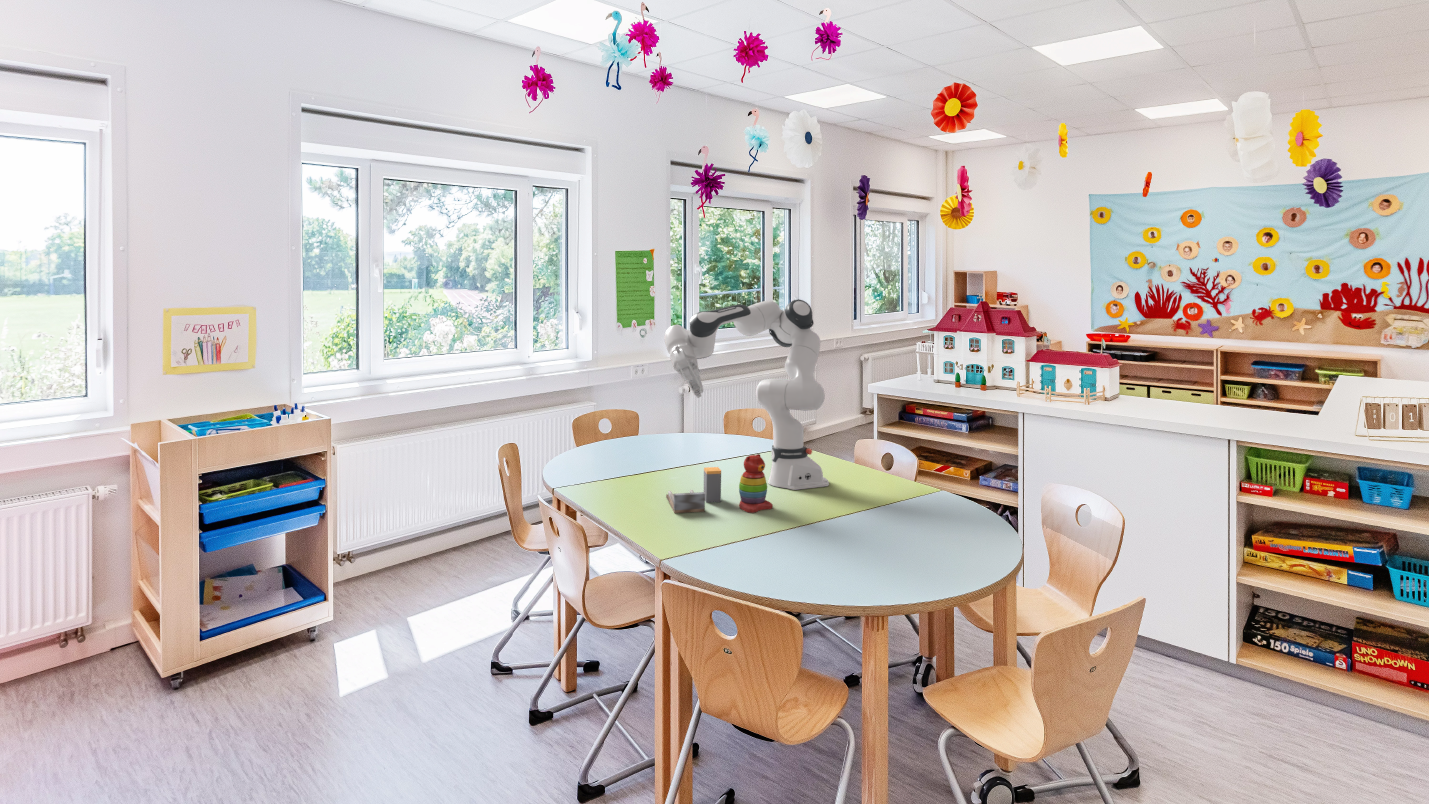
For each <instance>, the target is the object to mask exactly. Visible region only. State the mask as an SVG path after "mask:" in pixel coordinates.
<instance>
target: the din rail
mask: <svg viewBox="0 0 1429 804" xmlns="http://www.w3.org/2000/svg"><path fill="white" fill-rule="evenodd" d="M665 498H666V500H667V502H668V503H669V505H670V507H671V509H672V511H673V513H674V514H687V513H702V512H704V513H705V512H706V511H705V510H706V509H705V508H706V507H705V505H706V501H705V493H704V491H701V492H695V491H694V490H693V489H690V490H689V492H681V493H679V492H678V493H677V492H676V493H673V491H672V490H668V492H667V494H666V495H665Z"/></svg>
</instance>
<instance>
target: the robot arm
mask: <svg viewBox="0 0 1429 804" xmlns="http://www.w3.org/2000/svg"><path fill="white" fill-rule="evenodd" d="M730 323H733V325H734V327H735V328H736V330H737V331H738V332H739V333H740V334H741V335H743V336H747V337H752V336H757V335H758V334H760V333H762V332H764V331H767V330H768V332H769V336H771V337H772V340H774V341H775V343H776V344H777V345H779V346H781V347H783V348H790V349H789V351H788V355H787V358H786V360H785V362H784V371H785V373H786V374H787V376H788V377H789V378H790V379H788V378H787V379H786V378H777V377H775V378H773V377H772V378H767V379H766V378H765V379H761V380H760V381H759V383H758V384H757V386H756V388H755V398H756V401H757V402H758V403H759V405H761V407H762V408H764V410H765V411H766V412H767V414H768V415H769V417H770V420H771V422H772V423H771V424H772V430H773V431H772V433H773V434H772V435H773V436H772V437H773V438H772V439H773V440H772V442H773V443H772V445H771V462H772V463H771V469H770V473H769V478H768V480H767V483H768V484H769V485H770V486H773V487H777V488H783V489H788V490H791V491H792V490H793V491H795V490H806V489H813V488H823V487H829V485H830V483H829V482H830V481H829V480H828V479H827V478H826V477H824V474H823V469H822V467H821V466H820V464H819V463H817V462H816V461H815V460H813V459H812V458H811V457H810V456H809V455H812V454H813V450H812V449H811V448H808V447H806V446H805V445H804V437H805V436H804V431H805V428H804V426H803V423H802V422H801V421H799V420H798V419H796V418H795V417H794V416H793V415H792V413H791V411H790V410H793V411H800V412H801V411H802V412H804V411H805V412H806V411H807V412H808V411H816V410H820V408H821V407H822V406H823V404H824V402H825V396H826V393H825V390H824V388H823V386H822V385H821V384H820V382H818V381H817V380H816V379H815V376H814V375H815V369H816V364H817V362H818V358H819V357H820V356H819V355H820V351H821V338H820V336H819V334H817V333H816V332H815V331H814V330H812V329H811V328H812V327H813V325H814V319H813V309H812V307H811V305H810V304H809V303H808V302H807V301H805V300H803V299H794V300H792V301H790V302H789V303H788V304H787V305H786V306H785V309H781V307H780V306H779V304H778V303H777V302H776V301H774V300H763V301H760V302H756V303H753V304H751V305H749V306H747V305H745V304H734V305H730V306H724V307H721V308H718V309H713V310H704V311H698V312H696V313H695V314H693V315H692V316H691V317H690V319H689V329H686V328H684V327H683V326H682V325H680V324H674V325H672V326H671V325H670V326H669V327H668V328H667V329H666V330H665V332H664V342H665V347H666V350H667V353H668V354H669V358H670V361H671V364H672V366H673V367H672V368H673V369H674V371H675V372H677V373H678V374H679V375H680V376H681V378H682V379H683V380H684V382H685V381H686V383H687V385H688V387H689V388H690V390H691V392H692V394H693V395H694V396H695V397H696V399H699V398H701V397H702V394H703V392H704V386H703V382H702V379H701V371H700V368H699V364H698V360H701V359H706V358H709V357H710V356H712V355H713V353H714V349H715V345H716V337H717V336H716V335H717V332H718V329H719V328H720V327H722V325H726V324H730Z"/></svg>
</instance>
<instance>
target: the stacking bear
mask: <svg viewBox="0 0 1429 804" xmlns="http://www.w3.org/2000/svg"><path fill="white" fill-rule="evenodd" d="M743 467H744V470H745V471H744V472H743V473H742V474H741V476H740V481H739V485H738V490H739V491H738V492H739V495H740V496H739V497H740V502H739V505H738V507H739V508H740V510H742V511H744V512H745V513H750V514H751V513H752V514H754V513H757V512H758V511H762V510H763V511H764V510H771V509H773V507H774V505H773V503H772V502H770V501H769V500H766V498H767V493H768V484H767V483H768V482H767V478H766V475H765V473H764V470H765V468H766V463H765V461H764V459H763V457H761V454H760V453H758V454H751V455H748V456H746V457H745V459H744V461H743Z"/></svg>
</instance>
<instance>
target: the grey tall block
mask: <svg viewBox="0 0 1429 804" xmlns="http://www.w3.org/2000/svg"><path fill="white" fill-rule="evenodd" d="M703 492H704V493H705V504H707V503H711V504H712V503H721V502H722V500H721V499H722V470H721V469H720V467H719V466H714V467H713V466H711V467H709V466H708V467H703Z"/></svg>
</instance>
